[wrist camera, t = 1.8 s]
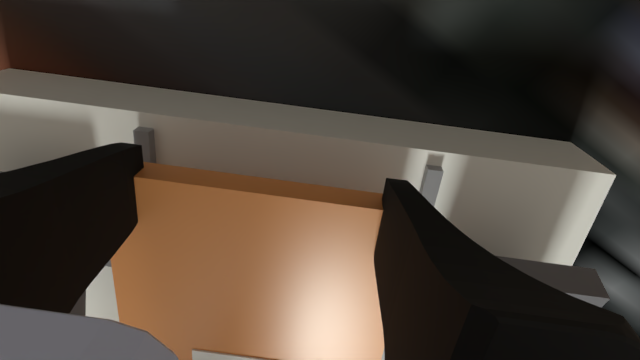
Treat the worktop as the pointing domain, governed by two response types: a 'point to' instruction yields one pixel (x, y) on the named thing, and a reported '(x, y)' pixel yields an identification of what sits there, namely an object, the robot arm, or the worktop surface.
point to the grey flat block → (565, 279)
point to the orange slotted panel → (251, 267)
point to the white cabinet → (315, 158)
